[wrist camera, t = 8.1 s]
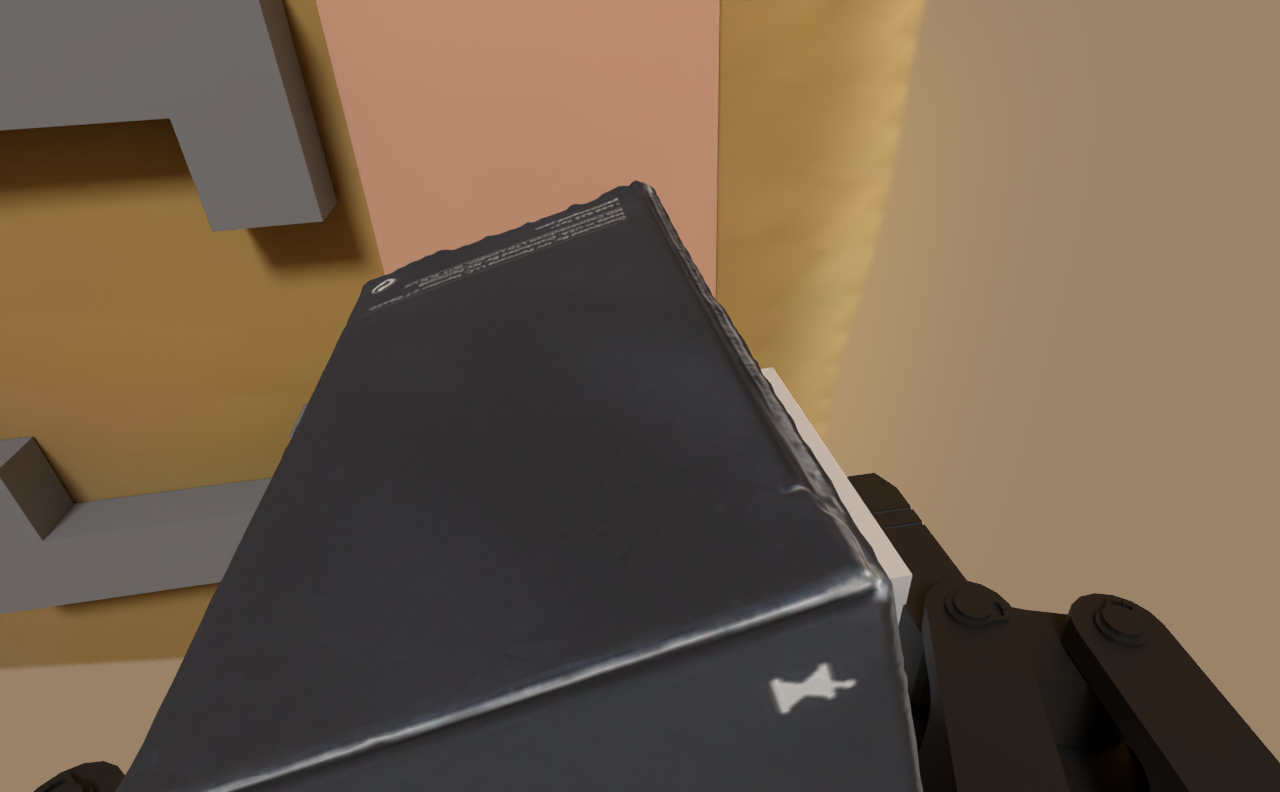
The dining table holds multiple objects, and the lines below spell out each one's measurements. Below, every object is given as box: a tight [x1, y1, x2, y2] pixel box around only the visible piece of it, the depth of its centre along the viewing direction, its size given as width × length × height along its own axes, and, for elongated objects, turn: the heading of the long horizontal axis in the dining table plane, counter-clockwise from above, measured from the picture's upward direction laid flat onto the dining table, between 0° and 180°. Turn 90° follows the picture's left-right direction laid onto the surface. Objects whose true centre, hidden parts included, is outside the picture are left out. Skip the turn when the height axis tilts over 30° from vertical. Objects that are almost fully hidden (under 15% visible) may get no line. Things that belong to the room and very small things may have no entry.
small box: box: [115, 180, 923, 792], centre depth 12 cm, size 11×6×10 cm, turn 18°
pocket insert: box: [0, 0, 338, 614], centre depth 22 cm, size 15×19×2 cm
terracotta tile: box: [316, 0, 720, 300], centre depth 24 cm, size 11×18×1 cm, turn 3°
